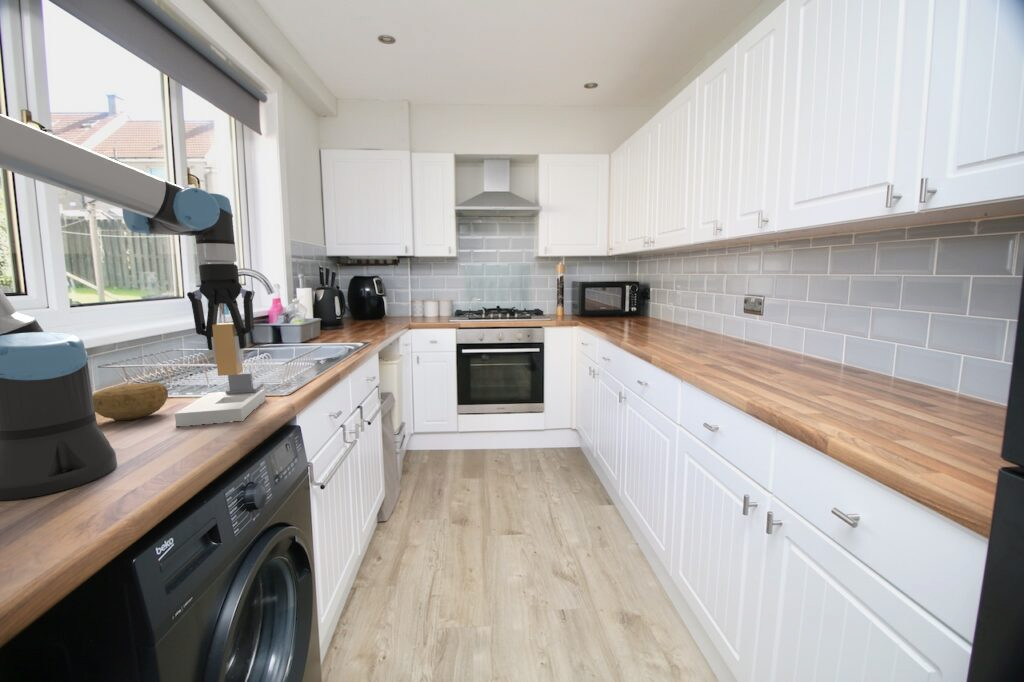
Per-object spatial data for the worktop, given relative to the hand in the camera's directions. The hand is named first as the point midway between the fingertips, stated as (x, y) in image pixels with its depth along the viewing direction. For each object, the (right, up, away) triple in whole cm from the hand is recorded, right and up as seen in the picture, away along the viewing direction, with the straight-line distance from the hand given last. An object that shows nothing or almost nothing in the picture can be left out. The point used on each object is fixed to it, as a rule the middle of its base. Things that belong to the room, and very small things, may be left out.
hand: (229, 362), depth 107 cm
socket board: (-2, -12, +1) cm, 12 cm away
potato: (-21, -13, -2) cm, 25 cm away
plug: (0, -3, 0) cm, 3 cm away
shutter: (-2, -8, +10) cm, 12 cm away
